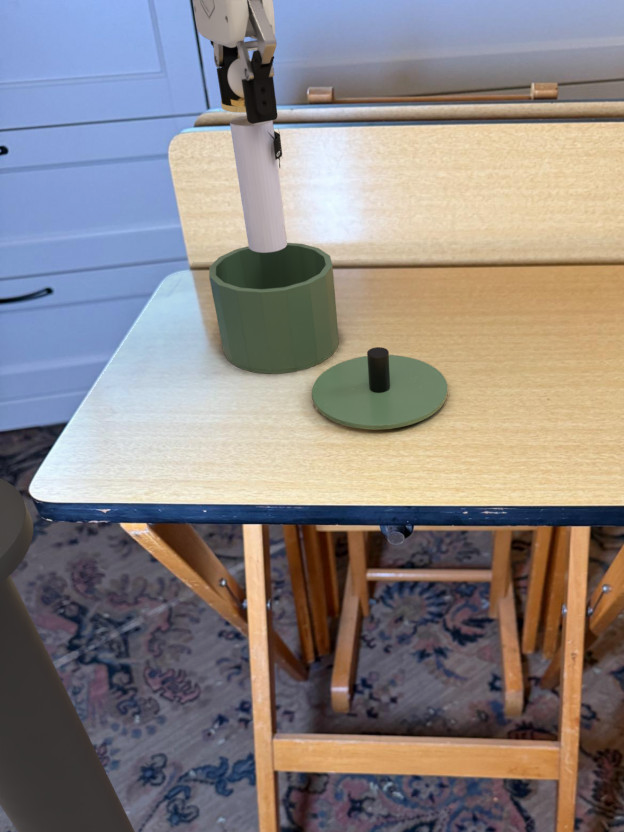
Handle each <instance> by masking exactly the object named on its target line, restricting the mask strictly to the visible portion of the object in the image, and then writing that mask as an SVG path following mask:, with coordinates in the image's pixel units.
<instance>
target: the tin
mask: <svg viewBox="0 0 624 832" xmlns="http://www.w3.org/2000/svg"><path fill="white" fill-rule="evenodd" d="M333 267H334V266H333V262H332V258H331V256H330V255H329V254H328V253H326V251H324V250H322V249H321V248H319V247H316V246H312V245H308V244H305V243H299V242H297V243H296V242H287V246H286V247H285V248H283V249H281V250H279V251H275V252H267V253H262V252H255V251H252V250H250V249H249V246H248V245H247V246H244V247H239V248H236V249H234V250H232V251H229V252H227V253H225V254H223V255H221V256H219V257H217V259H216V260H215V261H214V262H212V263H211V265H209V268H208V269H209V270H208V271H209V272H208V278H209V284H210V288H211V294H212V299H213V304H214V309H215V314H216V319H217V326H218V330H219V335H220V342H221V346H222V351H223V354H224V355H225V358H226V359H227V360H228V362H229V363H230V364H232V366H235V367H237V368H238V369H241V370H244V371H248V372H251V373H257V374H258V373H259V374H268V375H269V374H271V375H273V374H274V375H275V374H287V373H295V372H298V371H299V372H300V371H304V370H306V369H308V368H309V369H310V368H312V367H315V366H317V365H320V364H321V363H323V362H324V361H327V360H328V359H329V358H330V357H332V355H333V354H334V353H335V352H336V350H337V348H338V346H339V342H340V341H339V340H340V338H339V326H338V325H339V324H338V313H337V305H336V304H337V303H336V302H337V301H336V292H335V291H336V290H335V280H334V279H335V278H334V277H335V276H334V268H333Z"/></svg>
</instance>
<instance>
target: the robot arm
mask: <svg viewBox="0 0 624 832" xmlns="http://www.w3.org/2000/svg"><path fill="white" fill-rule="evenodd" d="M192 4H193V5H192V6H193V11H194V19H195V25H196V29H197V32H198V33H199V34H200V36H202V37H203V38H205V39H206V40H208V41H209V42H210V45H211V46H212V48H213V61H214V64H215V67H216V74H217V80H218V81H217V82H218V86H219V93H220V101H221V100H222V99H224V98H226V97H229V96H233V95H236V94H235V93H234V92H233V91H232V89H231V88H230V86H229V83H228V70H229V67H230V65H231V64H232V62H233V61H235V60H236V59H238V58H240V59H241V63H242V67H243V71H244V75H245V78H246V79H242V86H243V93H244V100H245V108H246V113H245V116H247V120H248V122H249V123H251V124H255V123H260V122H266V121H271V120H273V121H276V120H277V119H278V110H277V109H278V107H277V97H276V91H275V83H274V76H275V67H274V65H273V63H274V59H275V51H276V48H277V46H278V45H277V44H278V43H277V42H278V41H277V38H276V20H275V19H276V18H275V9H274V8H275V7H274V0H192ZM245 38H251V39H254V40H250V41H245ZM251 51H252V55H251V57H250V53H249V52H251ZM250 59H251V61H250ZM275 97H276V98H275Z"/></svg>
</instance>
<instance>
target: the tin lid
mask: <svg viewBox="0 0 624 832" xmlns="http://www.w3.org/2000/svg"><path fill="white" fill-rule="evenodd" d="M389 353H390V352H389V350H388V349H387V348H385V347H381V346H376V347H372V348H370V349H368V350H367V352H366V355H364V356H358V357H354V358H351V359H346V360H344V361H341V362H339V363H337V364H334V365H332V366H331V367H329V368H327V369H326V370H324V371H323V372H322V373H320V375H319V376H317V378H316V380H315V381H314V383H313V384H312V389H311V399H312V403H313V405H314V407H315V409H316V410H318V412H319V413H320V414H321V415H322V416H324V417H325V418H326V419H328V420H330V421H332V422H334V423H336V424H338V425H342V426H345V427H349V428H354V429H361V430H372V431H373V430H391V429H398V428H403V427H406V426H410V425H414V424H416V423H420V422H422V421H424V420H426V419H428V418H429V417H431V416H433V415H434V414H436V413H437V412H438V411H439V410H440V409H441V408H442V406H443V405H444V404H445V402H446V400H447V398H448V392H449V391H448V390H449V389H448V383H447V380H446V378H445V376H444V374H442V372H441V371H440V370H439V369H437V368H436V367H435V366H433V365H431V364H429V363H427V362H425V361H423V360H420V359H417V358H413V357H409V356H403V355H397V354H389Z"/></svg>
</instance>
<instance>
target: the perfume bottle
mask: <svg viewBox="0 0 624 832" xmlns="http://www.w3.org/2000/svg"><path fill="white" fill-rule="evenodd" d="M251 59H252V58H250V61H251ZM242 79H246V78H245V75H244V71H243V67H242V63H241V59H240V58H238V59H236V60H235V61H233V62H232V64H231V65H230V67H229V70H228V83H229V86H230V88H231V89H232V91H233V92H234V93H235V94H236V95H233V96H229V97H226V98H224V99H222V100H221V99H220V106H221V109H222V110H223V111H225V112H230V113H241V114H242V113H245V114H246V108H245V100H244V93H243V86H242ZM275 98H276V99H277V97H276V96H275ZM229 127H230V134H231V140H232V146H233V153H234V160H235V167H236V173H237V179H238V185H239V193H240V199H241V207H242V211H243V219H244V225H245V232H246V239H247V244H248V245H247V247H248V246H249V249H250V250H252V251H255V252H262V253H267V252H275V251H279V250H281V249H283V248H285V247H286V246H287V243H288V238H287V228H286V220H285V212H284V211H285V210H284V206H283V205H284V204H283V195H282V186H281V179H280V170H279V169H281V158H282V157H283V149H282V148H283V147H282V139H281V131H280V129H279V128H278V127H277V130H278V132H277V131H275V128H274V120H271V121H266V122H260V123H255V124H251V123H249V122H248V120H247V115H242V116H237V117H234V118H232V119H230V120H229Z"/></svg>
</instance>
